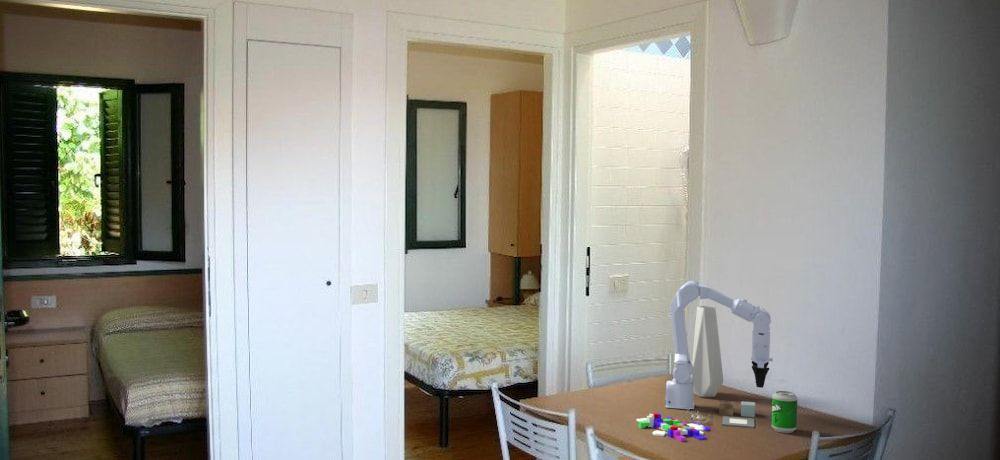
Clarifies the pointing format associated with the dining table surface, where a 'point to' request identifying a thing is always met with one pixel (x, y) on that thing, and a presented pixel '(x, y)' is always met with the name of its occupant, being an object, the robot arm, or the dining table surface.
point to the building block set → (673, 427)
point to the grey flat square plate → (738, 422)
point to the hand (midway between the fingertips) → (759, 384)
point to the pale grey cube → (748, 409)
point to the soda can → (784, 411)
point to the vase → (706, 354)
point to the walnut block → (726, 408)
